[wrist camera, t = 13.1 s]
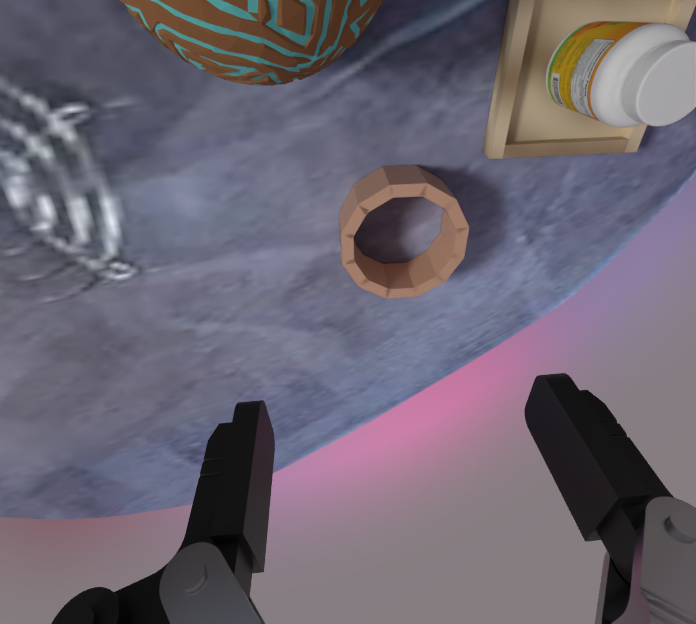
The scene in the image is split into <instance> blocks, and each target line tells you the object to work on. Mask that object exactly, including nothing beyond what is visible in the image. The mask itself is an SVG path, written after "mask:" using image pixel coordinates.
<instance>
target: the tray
mask: <svg viewBox="0 0 696 624" xmlns="http://www.w3.org/2000/svg"><path fill="white" fill-rule="evenodd" d="M695 6H696V0H509V4H508V9H507V15H506V21H505V27H504V32H503V38H502V44H501V50H500V55H499V61H498V67H497V73H496V78H495V84H494V90H493V96H492V101H491V107H490V113H489V119H488V124H487V130H486V136H485V142H484V148H483V153H484V154H485V155H486V156H487V157H488V158H490V159H498V158H519V157H541V156H562V155H583V154H604V153H626V152H637V150H638V147H639V145H640V142H641V140H642V137H643V135H644V132H645V130H646V127H647V124H640V125H637V126H634V127H627V128H619V127H613V126H610V125H607V124H604V123H601V122H599V121H596V120H594V119H591V118H589V117H586V116H583V115H581V114H578V113H575V112H573V111H570V110H568V109H565V108H563V107H560V106H559V105H557V104H556V103H554V102H553V101H552V99H551V98H550V96H549V94H548V92H547V89H546V71H547V67H548V64H549V61H550V58H551V56H552V54H553V53H554V51H555V49H556V48H557V46H558V45H559V44H560V42H561V41H562V40H563V39H564V38H565V37H566V36H567V35H568V34H569V33H570V32H572V31H573V30H575V29H576V28H578V27H580V26H582V25H584V24H587V23H590V22H596V21H615V22H650V23H667V24H671V25H675V26H677V27H679V28H680V29H682V30H683V31H684V32H685V31H686V28H687V26H688V23H689V21H690V18H691V16H692V13H693V11H694V8H695Z"/></svg>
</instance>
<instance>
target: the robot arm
mask: <svg viewBox="0 0 696 624" xmlns="http://www.w3.org/2000/svg"><path fill="white" fill-rule="evenodd" d="M525 419H526V423H527V426H528V428H529V431H530V433H531V434H532V436H533V439H534V441H535V443H536V444H537V446H538V448H539V450H540V452H541V454H542V456H543V458H544V460H545V462H546V464H547V466H548V468H549V470H550V472H551V474H552V476H553V478H554V480H555V482H556V484H557V486H558V488H559V490H560V492H561V494H562V496H563V498H564V500H565V502H566V504H567V506H568V508H569V510H570V512H571V514H572V516H573V518H574V520H575V522H576V524H577V526H578V527H579V530H580V532H581V534H582V536H583V538H584V540H585V541H595V540H602V542H603V544H604V546H605V547H606V549H607V551H606V553H605V556H604V562H603V569H602V576H601V584H600V590H599V597H598V605H597V612H596V619H595V624H696V508H695V507H693V506H692V505H690V504H688V503H686V502H684V501H682V500H679V499H676V498H674V497H673V496H672V495H671V494H670V492H669V491H668V490H667V489H666V488H665V486H664V485H663V483H662V482H661V481H660V479H659V478H658V476H657V475H656V474H655V472H654V471H653V470H652V468H651V467H650V465H649V464H648V463H647V461H646V460H645V458H644V457H643V456H642V454H641V453H640V452H639V450H638V449H637V448H636V446H635V445H634V443H633V442H632V441H631V439H630V438H628V437H627V435H626V432H625V431H624V430H623V428H622V427H621V425H620V424H618V423H617V420H616V419H615V417H614V416H613V414H612V413H611V412H610V410H609V409H608V408H607V406H606V405H605V404H604V403H603V402H602V401H601V400H599V399H598V398H597V397H596V396H594V395H593V394H592V393H590V392H589V391H588V390H581V391H580V390H579V389H578V388H577V386H576V385H575V383H574V382H573V380H572V379H571V378H570V377H569V375H567V374H565V373H561V374H549V375H539V376H537V377H536V378H535V381H534V383H533V386H532V389H531V392H530V395H529V398H528V400H527V403H526V406H525ZM274 451H275V441H274V432H273V428H272V425H271V422H270V418H269V415H268V412H267V409H266V405H265V402H264V401H263V400H262V401H251V402H240V403H237V404H236V407H235V411H234V416H233V421H232V422H231V423H221V424H219V425H218V426H217V428H216V429H215V431H214V432H213V434H212V435H211V437H210V438H209V440H208V443H207V447H206V452H205V456H204V462H203V464H202V468H201V472H200V478H199V480H198V485H197V489H196V493H195V497H194V501H193V505H192V509H191V514H190V518H189V522H188V526H187V530H186V534H185V537H184V540H183V542H182V545H181V547H180V548H179V550H178V552H177V553H176V554H175V556H174V557H173V558H172V559H171V560H170V561H169V563H168V564H166V565H165V566H164V567H163V568H162V569H160V570H159V571H158V572H156V573H154V574H152V575H150V576H148V577H146V578H144V579H142V580H140V581H138V582H135V583H133V584H131V585H129V586H127V587H124V588H122V589H121V590H118V591H116V592H112V591H111V590H110V589H107V588H103V587H95V588H91V589H88V590H86V591H83V592H82V593H80V594H78V595H77V596H75V597H74V598H73V599H71V600H70V601H69V602H68V603H67V604H66V605H65V606H64V607H63V608H62V609H61V610H60V612H59V613H58V614H57V616H56V617H55V618H54V620H53V622H52V624H265V622H264V620H263V618H262V617H261V615H260V613H259V611H258V610H257V608H256V606H255V604H254V603H253V601H252V599H251V597H250V588H251V579H252V573H260V572H264V563H265V553H266V542H267V530H268V519H269V506H270V496H271V485H272V474H273V462H274Z"/></svg>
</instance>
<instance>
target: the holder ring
mask: <svg viewBox="0 0 696 624" xmlns="http://www.w3.org/2000/svg"><path fill="white" fill-rule="evenodd" d="M417 196H423V197H425V198H427V199H429V200H430V201H432V202H434V203H436V204H438V205H440V206H441V207H442V208H443V215H442V223H441V231H440V233H439V235H438V236H437V238H436V239H435V240H434V242H433V243H432V244H431V246H430V247H429V249H428V250H427V251H426V252H424V253H423V254H421V255H419V256H417V257H415V258H413V259H411V260H410V261H408V262H406V263H388V264H382V263H380V262H378V261H376V260H374V259H371V258H369V257H367V256H365V255H363V254H362V252H361V251H360V250H359V248H358V247H357V245H356V244H355V242H354V235H355V233H356V232H357V230H358V228H359V226H360V225H361V223H362V221H363V220H364V218H365V216H366V215H367V213H368V212H370V211H372V210H373V209H375V208H377V207H378V206H380V205H382V204H383V203H385V202H387V201H388V200H390V199H392V198H396V197H417ZM339 220H340V241H341V253H342V264H343V266H344V267H345V268H346V270H347V271H348V272H349V274H350V275H351V277H352V278H353V279H354V281H355V282H356V283H357V285H358V286H359V287H360V288H363V289H365V290H367V291H370V292H372V293H374V294H377V295H379V296H381V297H384V298H402V297H417V296H419V295H421V294H423V293H425V292H427V291H429V290H431V289H432V288H434V287H436V286H438V285H440V284H442V283H444V282H445V281H446V280H447V279H448V277H449V276H450V275H451V274H452V272H453V271H454V270H455V269H456V267H457V266H458V265H459V264H460V262H461V261H462V260H463V259H464V256H465V250H466V244H467V238H468V233H469V226H468V224H467V221H466V219H465V217H464V215H463V213H462V210H461V208H460V206H459V204H458V202H457V200H456V198H455V197H454V195H453V194H452V193H451V191H450V190H449V189H448V187H447V186H446V184H445V183H444V182H443V180H441V179H440V178H438V177H436V176H434V175H433V174H431V173H429V172H427V171H426V170H424V169H422V168H420V167H419V166H417V165H401V166H382V167H381V168H379V169H378V170H376V171H374V172H373V173H371V174H370V175H368V176H366V177H365V178H363V179H362V180H360V181H359V182H357V183H355V184H354V185H353V187H352V189H351V191H350V193H349V195H348V196H347V198H346V200H345V202H344V204H343V206H342V207H341V209H340V211H339Z"/></svg>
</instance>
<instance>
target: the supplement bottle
mask: <svg viewBox="0 0 696 624" xmlns="http://www.w3.org/2000/svg"><path fill="white" fill-rule="evenodd" d="M546 89H547V92H548V94H549V96H550V98H551V99H552V101H553V102H554V103H556V104H557V105H559V106H560V107H563V108H565V109H568V110H570V111H573V112H575V113H578V114H581V115H583V116H586V117H589V118H591V119H594V120H596V121H599V122H601V123H604V124H607V125H610V126H613V127H619V128H627V127H634V126H637V125H640V124H647V125H650V126H664V125H668V124H671V123H674V122H676V121H678V120H680V119H681V118H683V117H685V116H686V115H687V114H688V113H690V112H691V111H692V110H693V109H694V108H695V107H696V42H695V41H690V39H689V37H688V36H687V34H686V33H685V32H684V31H683V30H682V29H680V28H679V27H677V26H675V25H671V24H667V23H650V22H615V21H596V22H590V23H587V24H584V25H582V26H580V27H578V28H576V29H575V30H573V31H572V32H570V33H569V34H568V35H567V36H566V37H565V38H564V39H563V40H562V41H561V42H560V44H559V45H558V46H557V48H556V49H555V51H554V53H553V54H552V56H551V58H550V61H549V64H548V67H547V71H546Z"/></svg>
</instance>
